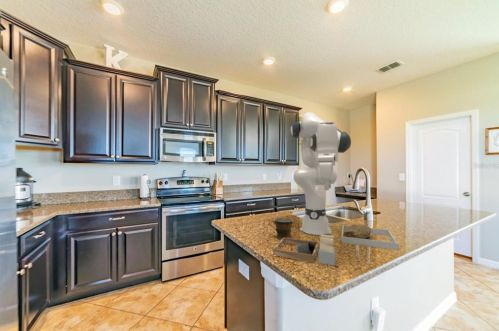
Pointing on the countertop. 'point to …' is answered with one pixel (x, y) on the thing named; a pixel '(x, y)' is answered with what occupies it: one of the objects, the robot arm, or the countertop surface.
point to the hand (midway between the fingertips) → (327, 189)
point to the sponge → (358, 231)
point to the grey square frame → (373, 243)
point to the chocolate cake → (305, 248)
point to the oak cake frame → (295, 254)
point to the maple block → (327, 243)
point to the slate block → (327, 257)
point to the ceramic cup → (283, 227)
